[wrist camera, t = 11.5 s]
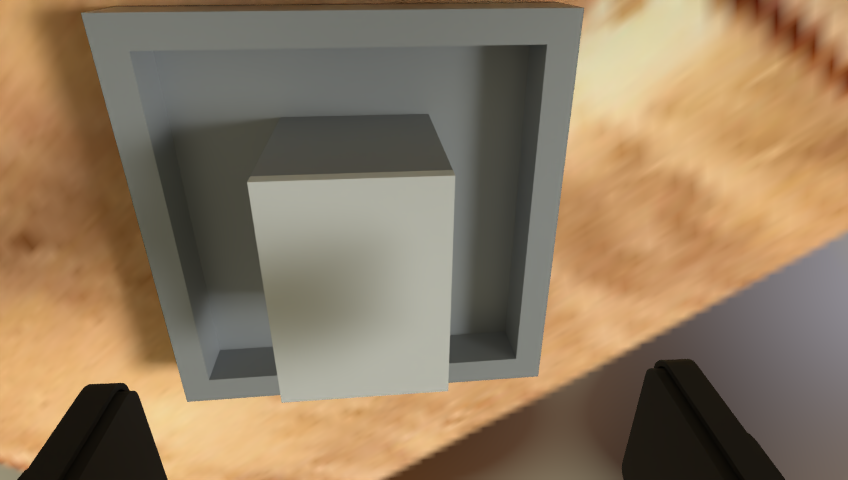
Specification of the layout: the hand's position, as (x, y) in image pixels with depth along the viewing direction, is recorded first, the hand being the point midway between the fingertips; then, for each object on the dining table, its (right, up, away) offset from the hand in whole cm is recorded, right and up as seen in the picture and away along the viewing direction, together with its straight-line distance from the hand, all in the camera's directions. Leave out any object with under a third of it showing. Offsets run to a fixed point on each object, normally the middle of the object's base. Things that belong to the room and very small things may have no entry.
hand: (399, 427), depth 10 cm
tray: (-2, +5, +10) cm, 12 cm away
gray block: (-2, +5, +10) cm, 11 cm away
